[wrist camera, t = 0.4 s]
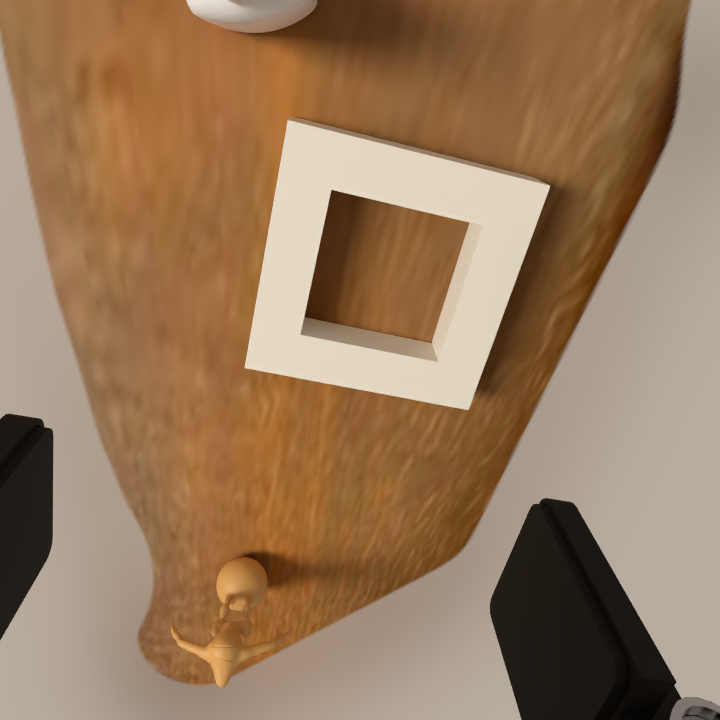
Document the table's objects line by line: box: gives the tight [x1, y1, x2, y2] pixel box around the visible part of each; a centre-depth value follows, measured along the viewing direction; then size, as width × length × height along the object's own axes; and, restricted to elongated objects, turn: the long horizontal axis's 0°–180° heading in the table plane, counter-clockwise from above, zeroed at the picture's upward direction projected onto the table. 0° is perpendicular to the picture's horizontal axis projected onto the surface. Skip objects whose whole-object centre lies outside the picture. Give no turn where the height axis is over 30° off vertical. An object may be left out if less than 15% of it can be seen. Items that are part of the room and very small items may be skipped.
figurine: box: [171, 557, 292, 687], centre depth 43 cm, size 8×6×12 cm
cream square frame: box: [245, 116, 550, 410], centre depth 37 cm, size 15×15×3 cm
